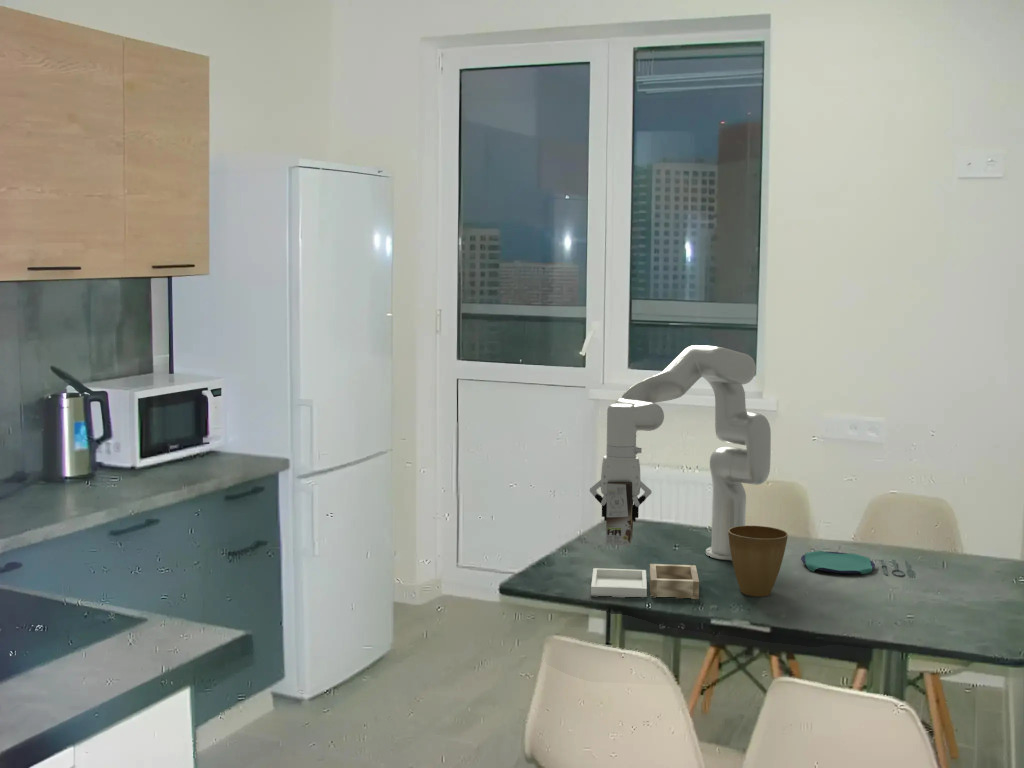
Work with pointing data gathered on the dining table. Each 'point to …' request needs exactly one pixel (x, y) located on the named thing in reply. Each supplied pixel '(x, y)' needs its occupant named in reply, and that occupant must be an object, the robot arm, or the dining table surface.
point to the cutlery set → (845, 563)
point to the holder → (674, 581)
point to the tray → (619, 583)
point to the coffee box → (619, 513)
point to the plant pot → (757, 557)
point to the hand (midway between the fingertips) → (619, 519)
